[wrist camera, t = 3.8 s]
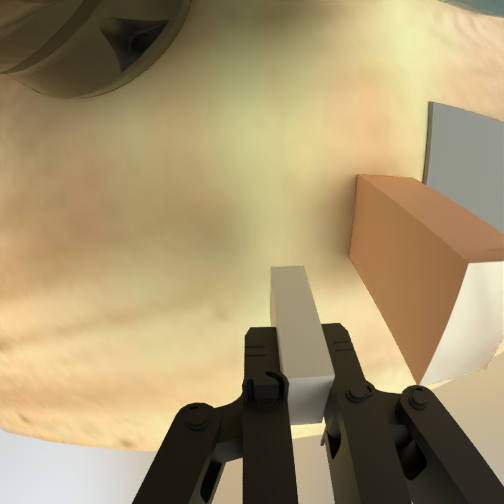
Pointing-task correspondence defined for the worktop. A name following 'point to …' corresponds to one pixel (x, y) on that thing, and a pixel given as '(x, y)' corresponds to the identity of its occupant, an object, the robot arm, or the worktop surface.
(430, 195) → the tall block
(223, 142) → the worktop surface
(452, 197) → the mat
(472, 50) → the worktop surface
